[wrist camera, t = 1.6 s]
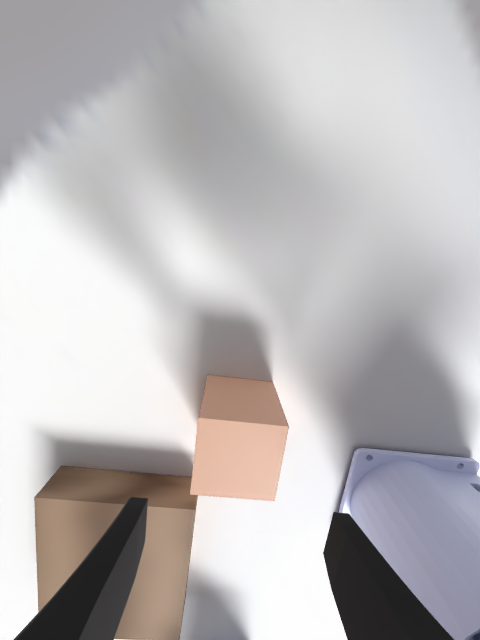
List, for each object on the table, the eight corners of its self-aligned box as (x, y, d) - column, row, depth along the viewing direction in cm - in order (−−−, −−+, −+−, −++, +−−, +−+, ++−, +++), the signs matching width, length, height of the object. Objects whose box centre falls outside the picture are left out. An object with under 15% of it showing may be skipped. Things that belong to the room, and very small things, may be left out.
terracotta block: (272, 381, 17) (288, 426, 12) (262, 438, 18) (274, 501, 13) (207, 374, 17) (198, 417, 12) (201, 432, 18) (189, 494, 13)
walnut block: (200, 472, 19) (195, 509, 16) (186, 590, 22) (179, 641, 19) (65, 461, 19) (34, 497, 16) (66, 584, 21) (39, 635, 18)
